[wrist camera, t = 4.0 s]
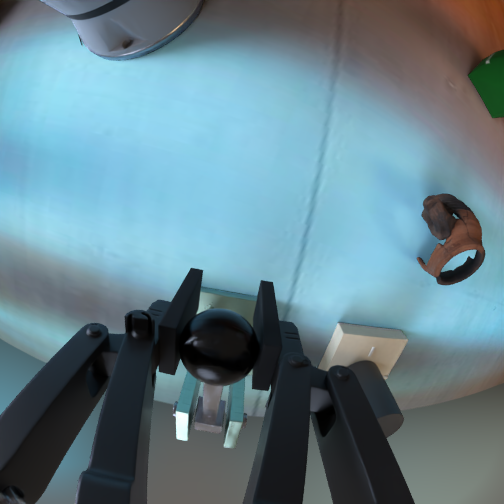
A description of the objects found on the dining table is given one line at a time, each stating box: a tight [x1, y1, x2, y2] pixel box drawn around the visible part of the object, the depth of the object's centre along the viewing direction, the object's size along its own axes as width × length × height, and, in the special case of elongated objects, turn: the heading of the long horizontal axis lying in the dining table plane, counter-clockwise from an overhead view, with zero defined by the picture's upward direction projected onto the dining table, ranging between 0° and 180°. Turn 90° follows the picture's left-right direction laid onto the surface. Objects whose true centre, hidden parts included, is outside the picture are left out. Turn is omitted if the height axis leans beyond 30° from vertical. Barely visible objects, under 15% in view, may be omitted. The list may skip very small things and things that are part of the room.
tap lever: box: [179, 308, 259, 433], centre depth 15 cm, size 15×4×4 cm, turn 169°
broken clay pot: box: [417, 194, 485, 285], centre depth 25 cm, size 12×10×8 cm
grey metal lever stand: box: [173, 287, 257, 448], centre depth 24 cm, size 11×9×15 cm
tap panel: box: [318, 322, 408, 380], centre depth 32 cm, size 13×10×3 cm
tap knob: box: [348, 360, 404, 438], centre depth 26 cm, size 6×6×10 cm
